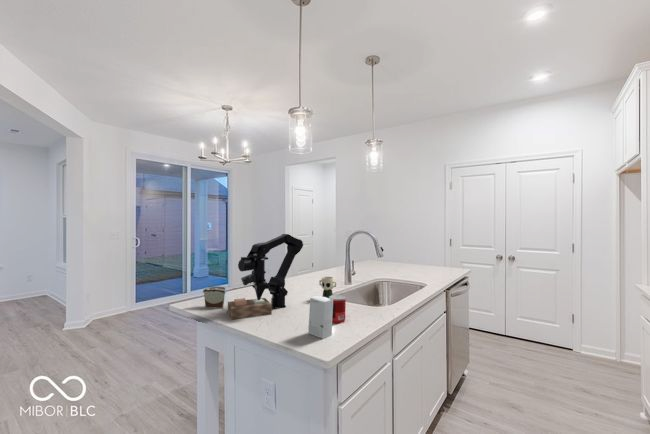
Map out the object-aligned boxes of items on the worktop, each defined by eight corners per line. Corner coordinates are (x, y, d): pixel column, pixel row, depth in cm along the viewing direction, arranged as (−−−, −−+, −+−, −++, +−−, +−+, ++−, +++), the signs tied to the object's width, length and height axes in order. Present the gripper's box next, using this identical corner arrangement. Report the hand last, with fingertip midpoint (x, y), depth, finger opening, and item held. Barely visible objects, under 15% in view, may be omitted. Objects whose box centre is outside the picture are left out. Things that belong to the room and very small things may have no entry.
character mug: (316, 300, 173) (316, 277, 174) (322, 297, 180) (322, 275, 180) (333, 302, 169) (333, 279, 169) (338, 299, 175) (338, 277, 175)
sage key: (262, 305, 154) (262, 298, 154) (264, 307, 149) (264, 300, 149) (252, 306, 152) (252, 299, 152) (254, 309, 147) (254, 301, 147)
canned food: (347, 318, 141) (347, 295, 141) (342, 324, 133) (342, 299, 134) (331, 317, 143) (331, 294, 144) (326, 322, 136) (326, 298, 136)
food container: (230, 305, 162) (230, 286, 162) (225, 308, 156) (225, 289, 156) (208, 304, 163) (208, 286, 164) (202, 307, 157) (202, 288, 157)
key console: (264, 307, 159) (265, 297, 159) (271, 314, 147) (271, 304, 147) (227, 311, 150) (227, 301, 150) (231, 319, 139) (231, 308, 139)
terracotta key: (244, 305, 150) (244, 297, 150) (246, 307, 145) (246, 300, 146) (234, 306, 148) (234, 299, 148) (235, 309, 143) (235, 301, 143)
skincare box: (308, 334, 122) (308, 297, 122) (317, 329, 127) (318, 294, 127) (323, 339, 117) (324, 301, 117) (333, 335, 121) (333, 298, 121)
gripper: (239, 267, 156) (239, 297, 156) (246, 273, 139) (246, 306, 139) (260, 265, 161) (260, 295, 160) (269, 271, 144) (269, 303, 144)
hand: (258, 299), depth 151 cm, fingers closed, pressing on sage key
